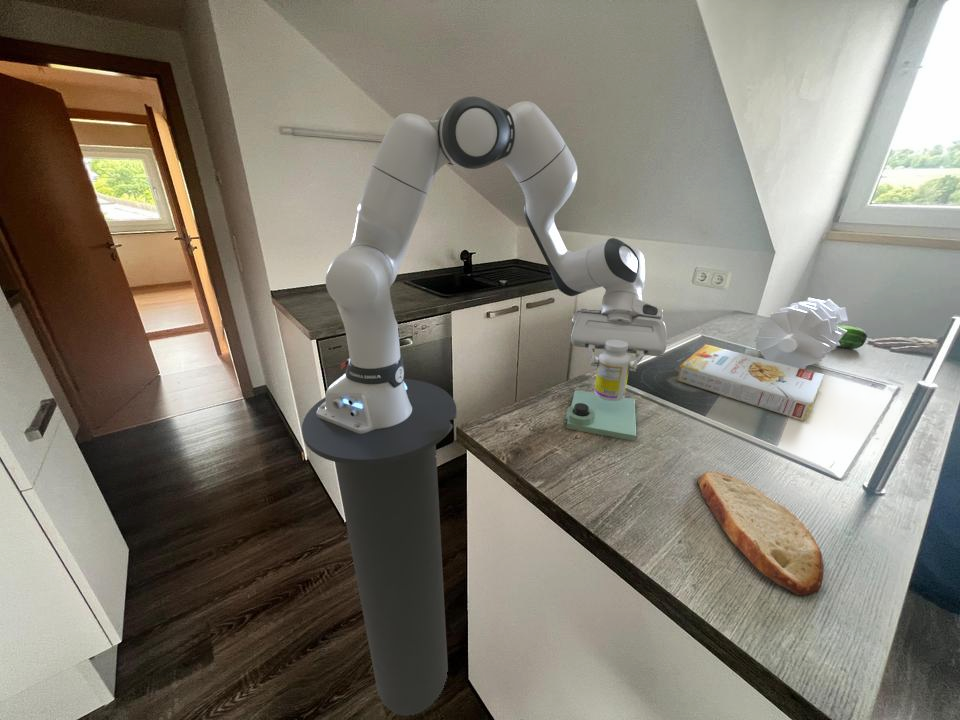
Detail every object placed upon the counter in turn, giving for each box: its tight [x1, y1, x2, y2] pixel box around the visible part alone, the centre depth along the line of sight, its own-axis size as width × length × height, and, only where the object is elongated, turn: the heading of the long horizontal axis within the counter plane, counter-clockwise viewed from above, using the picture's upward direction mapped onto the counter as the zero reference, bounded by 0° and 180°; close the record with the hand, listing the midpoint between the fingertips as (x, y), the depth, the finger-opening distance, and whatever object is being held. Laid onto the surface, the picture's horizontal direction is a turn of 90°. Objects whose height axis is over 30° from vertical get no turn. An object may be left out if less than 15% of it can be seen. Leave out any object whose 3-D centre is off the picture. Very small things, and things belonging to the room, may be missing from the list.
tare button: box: [574, 403, 589, 416], centre depth 84 cm, size 3×3×2 cm
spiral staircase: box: [754, 297, 849, 370], centre depth 115 cm, size 18×18×25 cm
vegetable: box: [836, 325, 868, 350], centre depth 129 cm, size 7×7×20 cm
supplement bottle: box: [594, 339, 632, 401], centre depth 86 cm, size 7×7×13 cm
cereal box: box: [677, 343, 825, 422], centre depth 101 cm, size 20×6×28 cm
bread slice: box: [697, 471, 825, 597], centre depth 59 cm, size 18×18×4 cm
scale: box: [565, 389, 637, 442], centre depth 88 cm, size 14×16×3 cm
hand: (613, 367), depth 85 cm, fingers closed on supplement bottle, 6 cm apart
